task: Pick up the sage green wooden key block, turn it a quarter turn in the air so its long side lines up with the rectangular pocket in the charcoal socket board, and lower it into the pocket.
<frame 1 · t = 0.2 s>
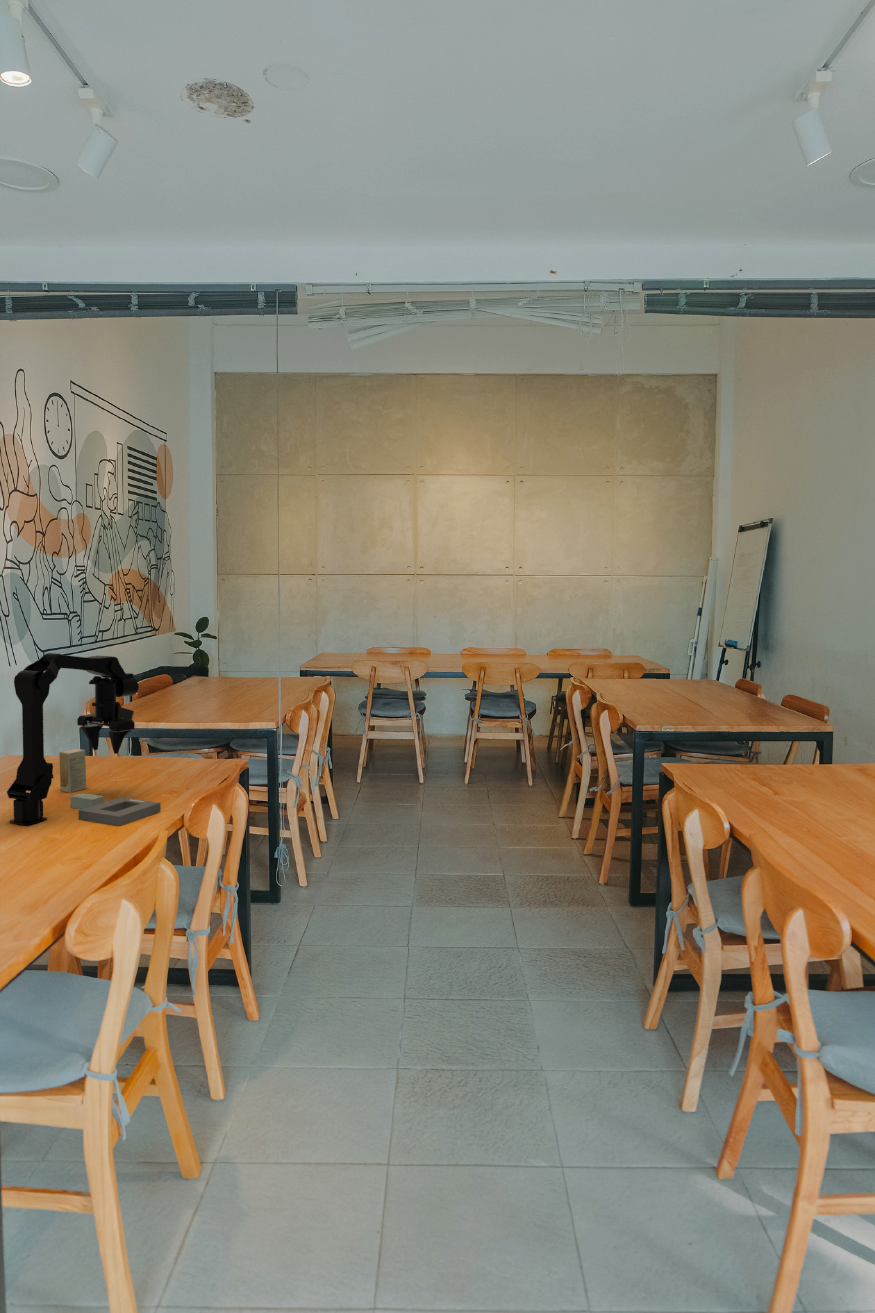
hand: (105, 751, 237), 14 cm above the table, fingers open, 9 cm apart
socket board: (120, 815, 221), on the table
key block: (87, 808, 228), on the table
skincare box: (73, 790, 247), on the table
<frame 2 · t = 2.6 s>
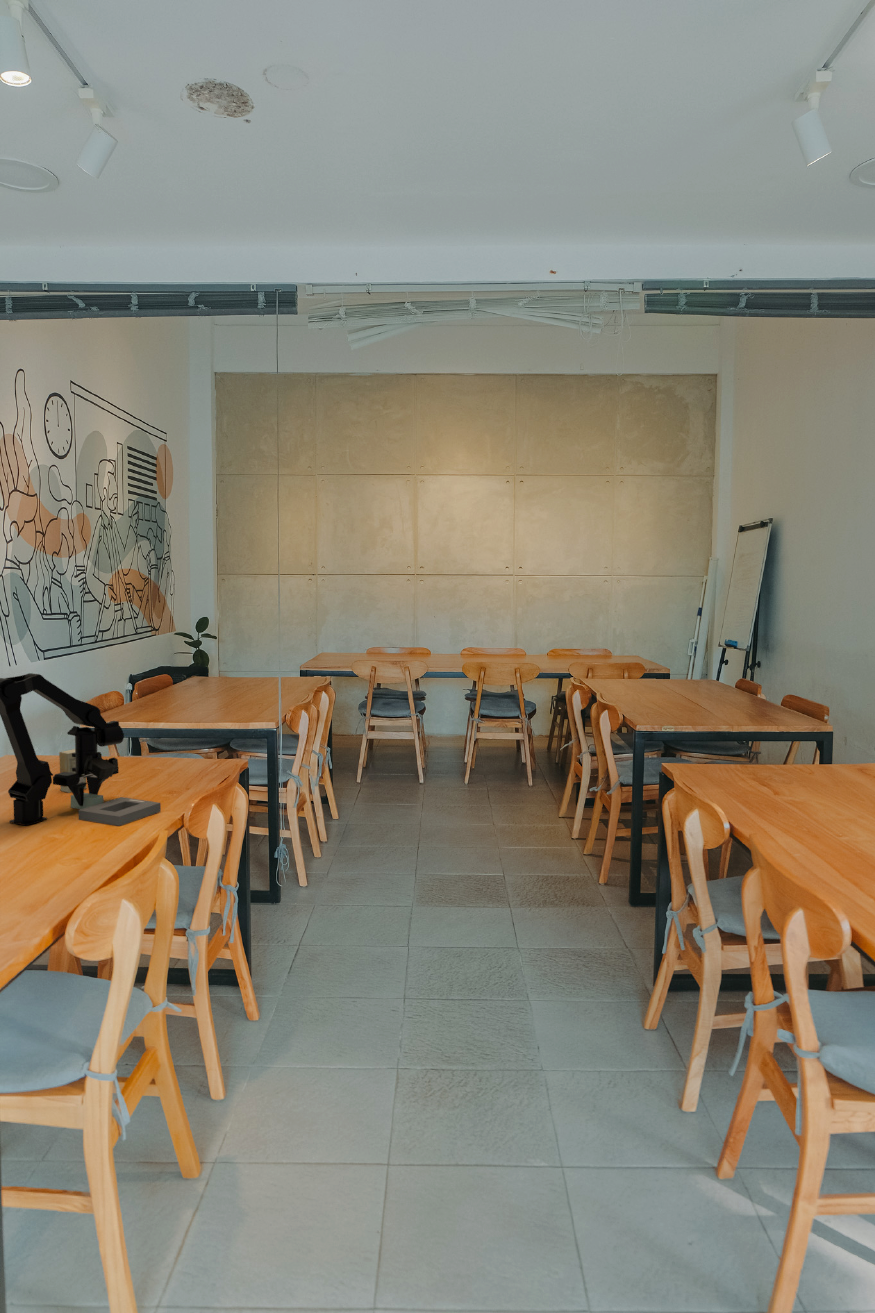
hand: (87, 803, 228), 1 cm above the table, fingers closed on key block, 4 cm apart
key block: (87, 807, 228), on the table, touching gripper
everything else where it was.
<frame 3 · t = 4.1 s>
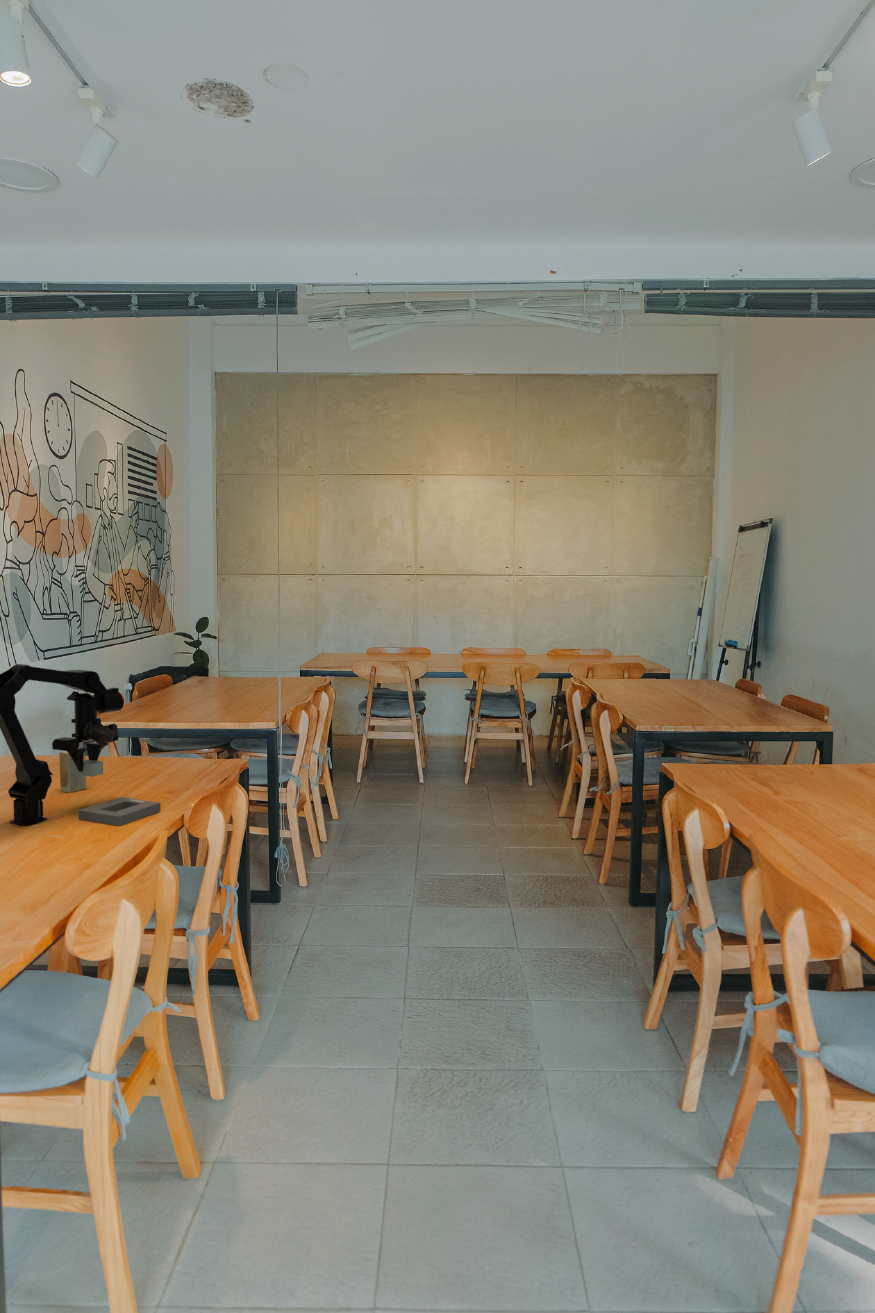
hand: (86, 770, 227), 11 cm above the table, fingers closed on key block, 4 cm apart
key block: (86, 773, 227), point 10 cm above the table, touching gripper
everything else where it was.
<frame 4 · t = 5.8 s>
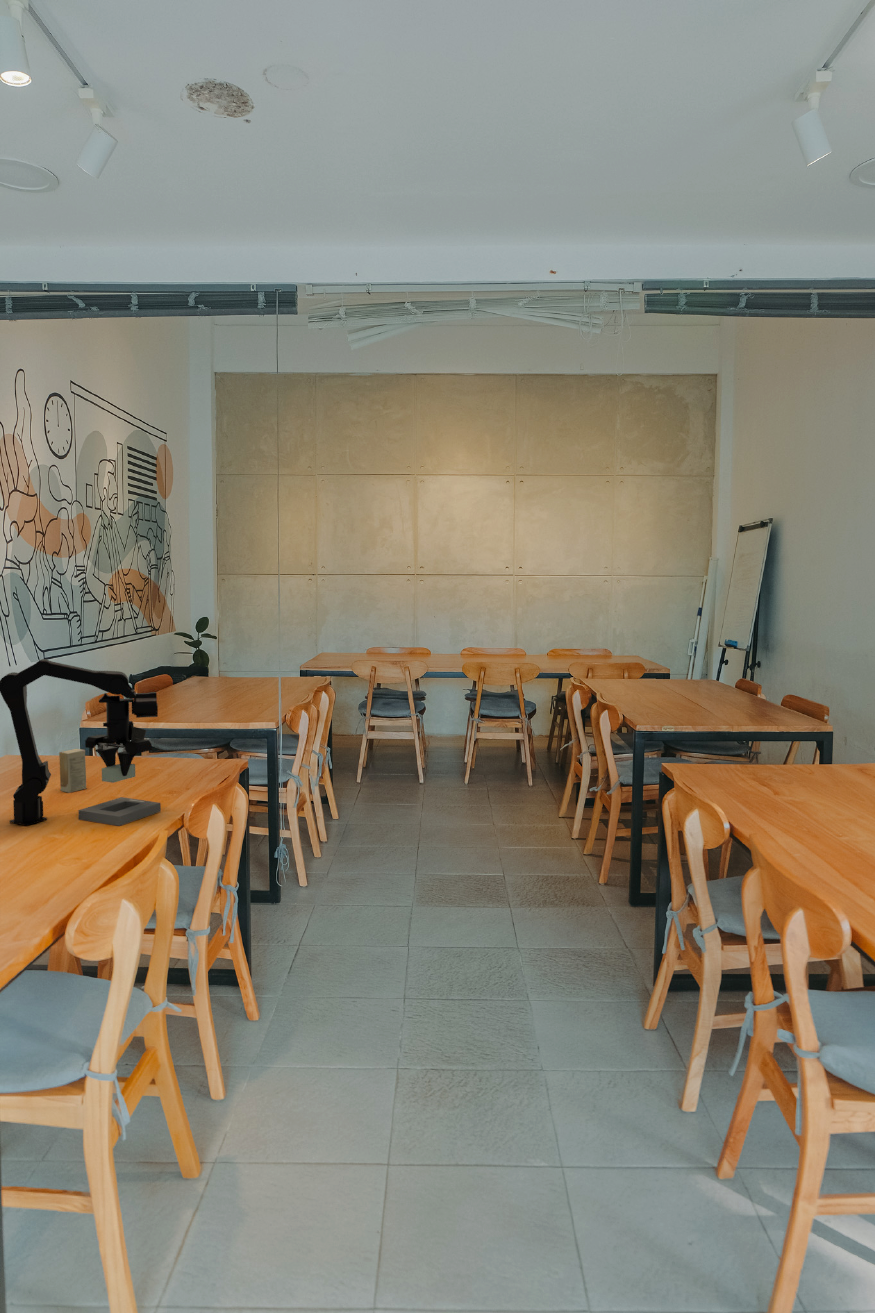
hand: (118, 775, 220), 11 cm above the table, fingers closed on key block, 4 cm apart
key block: (118, 778, 220), point 10 cm above the table, touching gripper
everything else where it was.
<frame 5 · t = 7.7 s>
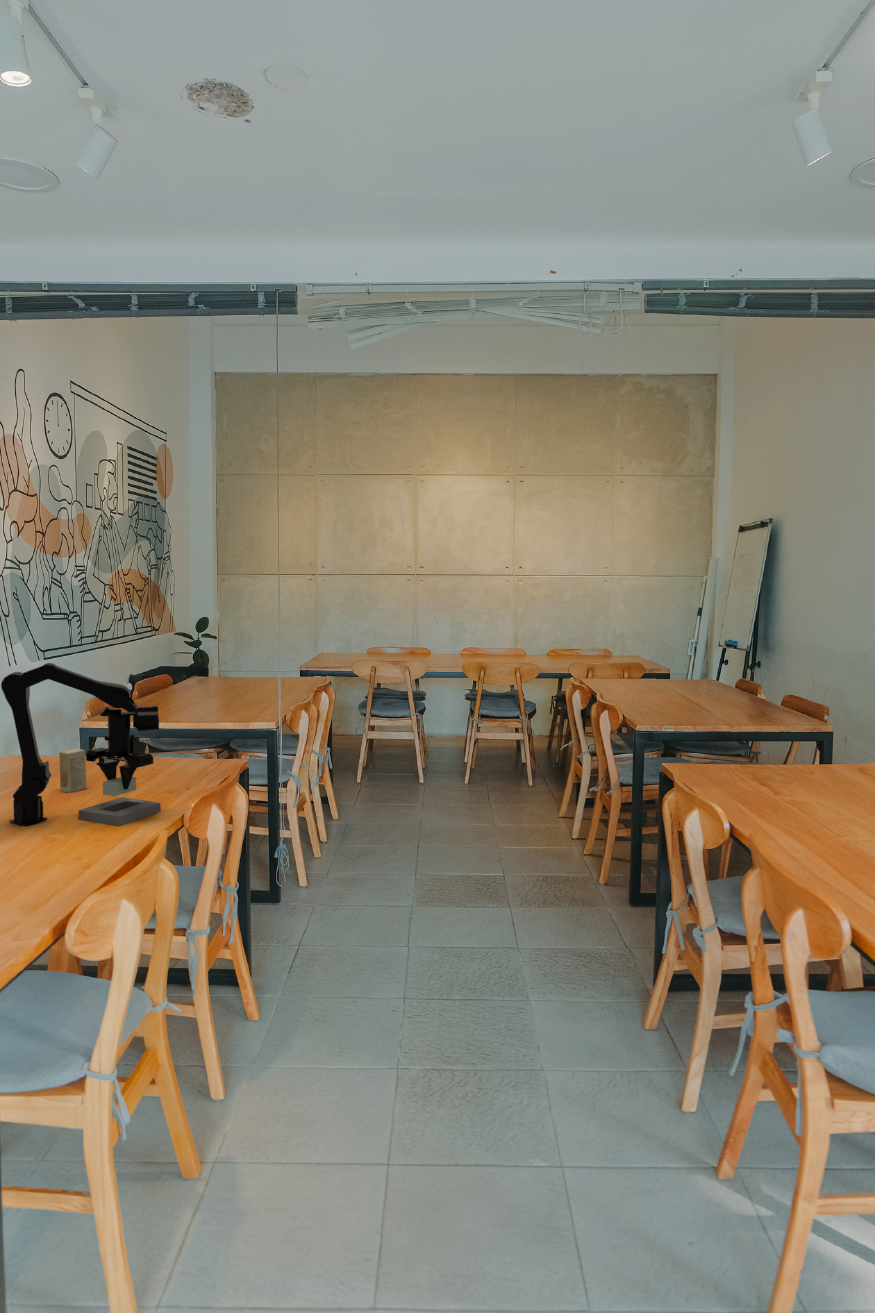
hand: (119, 788, 220), 7 cm above the table, fingers closed on key block, 4 cm apart
key block: (119, 792, 220), point 6 cm above the table, touching gripper
everything else where it was.
when the fingers open (3 cm above the table, at t = 9.0 s): key block drops 2 cm, resting in socket board.
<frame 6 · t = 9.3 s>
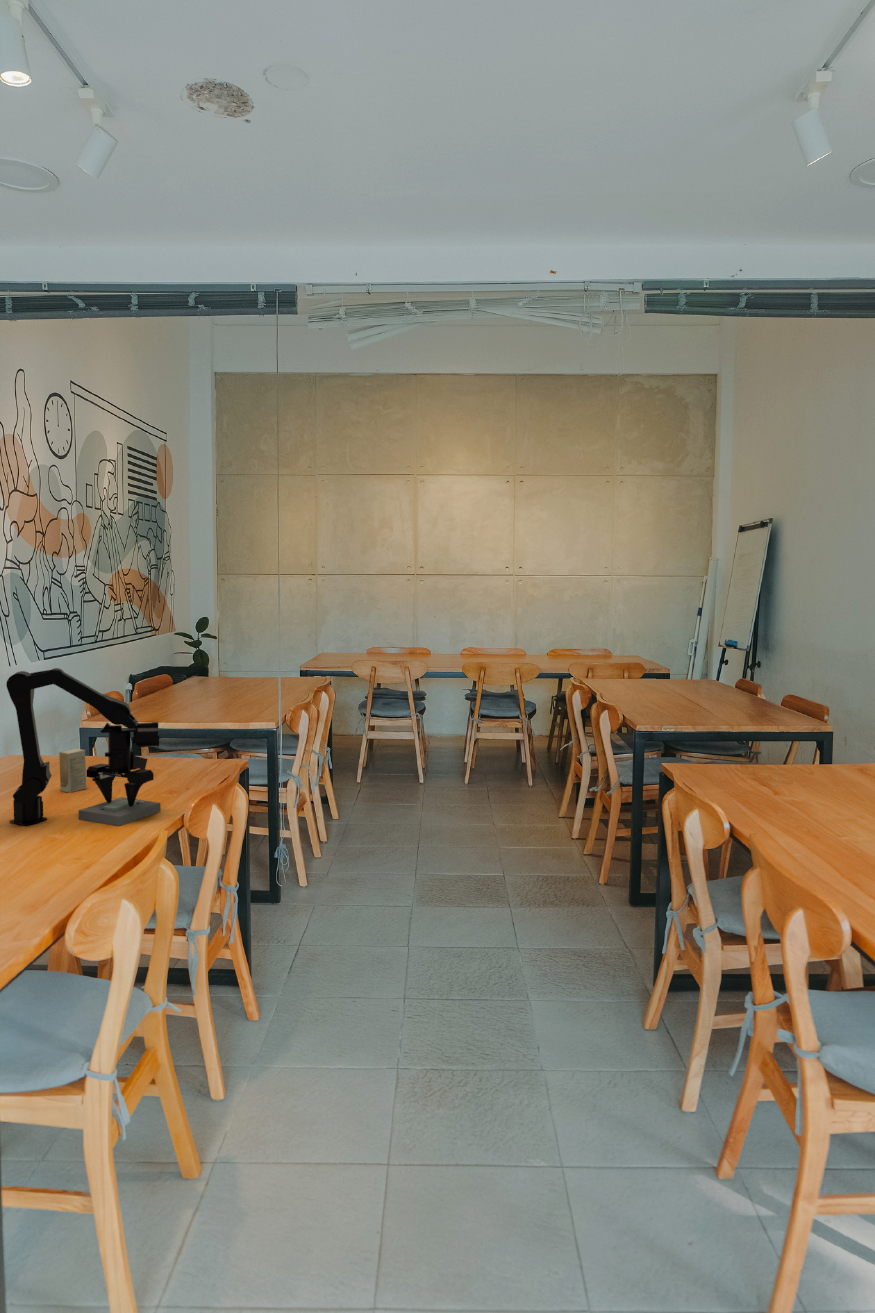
hand: (120, 804, 221), 3 cm above the table, fingers open, 7 cm apart
key block: (120, 816, 221), resting in socket board
everything else where it was.
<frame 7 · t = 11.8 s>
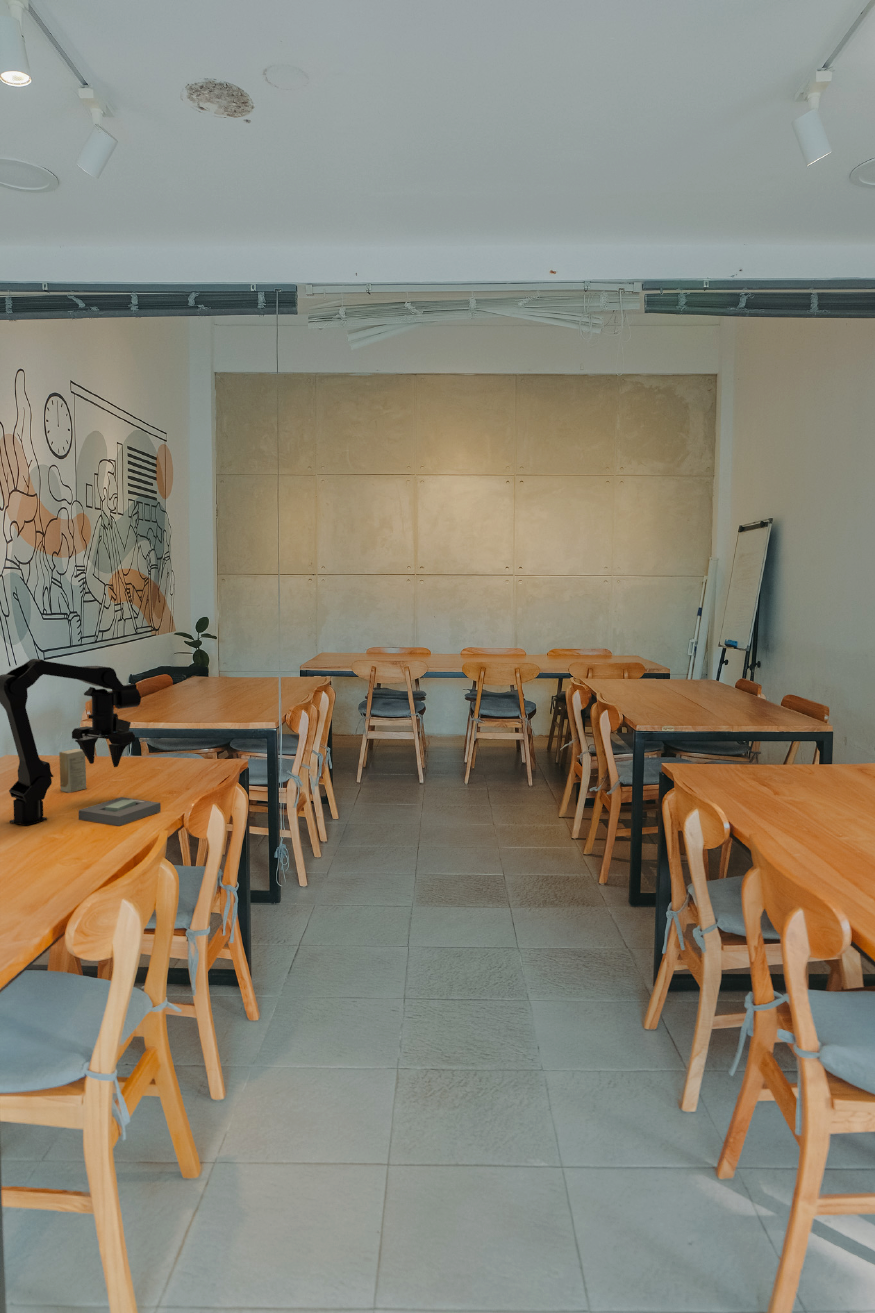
hand: (103, 765, 229), 12 cm above the table, fingers open, 9 cm apart
nothing on the table moved.
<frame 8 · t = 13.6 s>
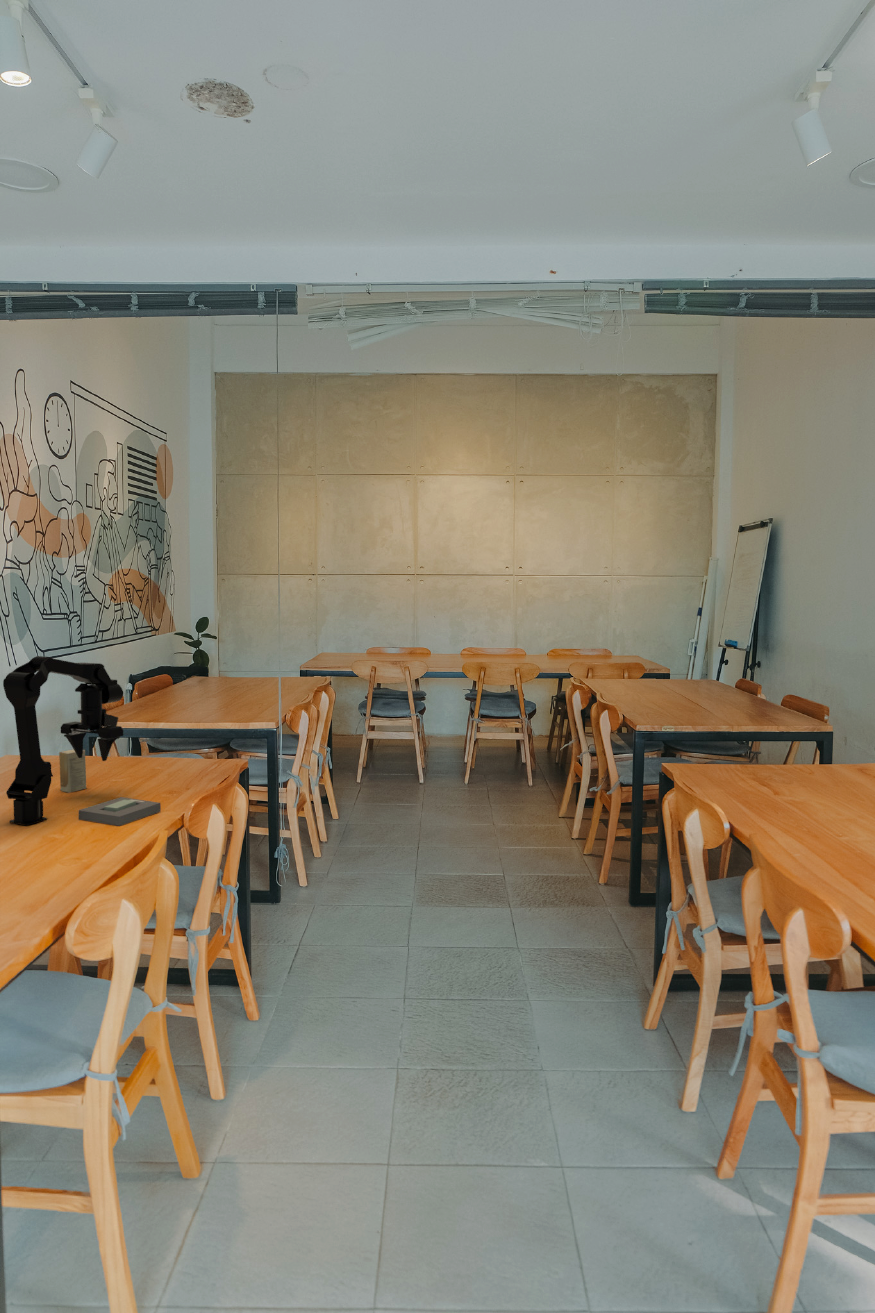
hand: (92, 759, 235), 12 cm above the table, fingers open, 9 cm apart
nothing on the table moved.
at the end: key block 0.0 cm off-centre on the socket board, point 0.0 cm above the socket board's base; key block tilted 0°; the gripper is holding nothing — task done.
